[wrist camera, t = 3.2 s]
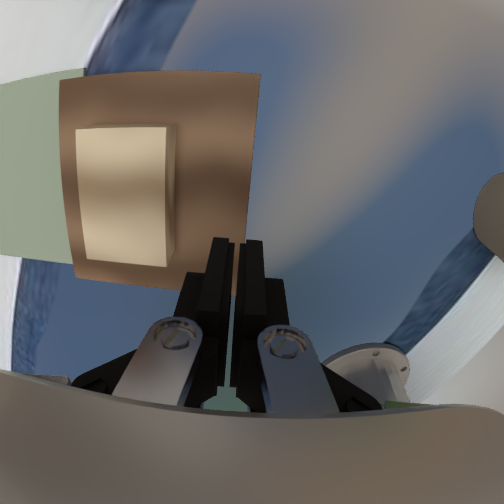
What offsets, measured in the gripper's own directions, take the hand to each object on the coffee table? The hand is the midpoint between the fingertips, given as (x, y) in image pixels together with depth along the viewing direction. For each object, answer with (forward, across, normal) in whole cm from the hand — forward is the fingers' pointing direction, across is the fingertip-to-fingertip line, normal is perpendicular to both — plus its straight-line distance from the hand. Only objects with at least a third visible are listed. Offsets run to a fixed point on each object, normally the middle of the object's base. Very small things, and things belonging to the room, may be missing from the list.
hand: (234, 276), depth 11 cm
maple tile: (+11, +8, +1) cm, 13 cm away
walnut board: (+15, +6, +1) cm, 16 cm away
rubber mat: (+15, +20, +1) cm, 25 cm away
